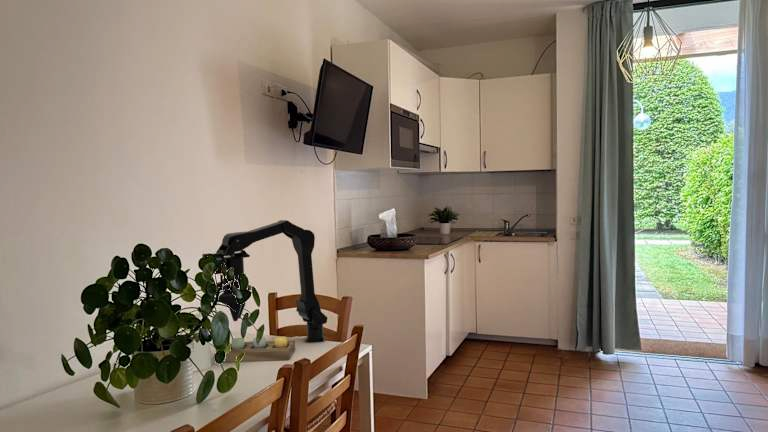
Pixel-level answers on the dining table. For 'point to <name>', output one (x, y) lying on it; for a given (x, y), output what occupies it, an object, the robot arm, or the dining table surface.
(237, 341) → the button sage
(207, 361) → the cup
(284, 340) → the button amber
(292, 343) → the brown button tray
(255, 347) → the button slate
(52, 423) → the dining table surface
